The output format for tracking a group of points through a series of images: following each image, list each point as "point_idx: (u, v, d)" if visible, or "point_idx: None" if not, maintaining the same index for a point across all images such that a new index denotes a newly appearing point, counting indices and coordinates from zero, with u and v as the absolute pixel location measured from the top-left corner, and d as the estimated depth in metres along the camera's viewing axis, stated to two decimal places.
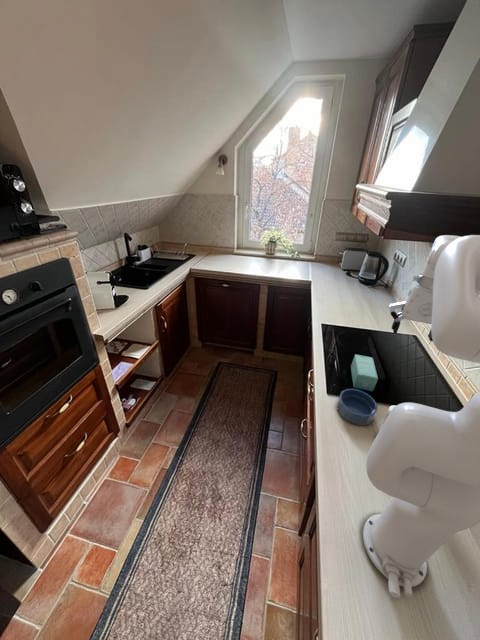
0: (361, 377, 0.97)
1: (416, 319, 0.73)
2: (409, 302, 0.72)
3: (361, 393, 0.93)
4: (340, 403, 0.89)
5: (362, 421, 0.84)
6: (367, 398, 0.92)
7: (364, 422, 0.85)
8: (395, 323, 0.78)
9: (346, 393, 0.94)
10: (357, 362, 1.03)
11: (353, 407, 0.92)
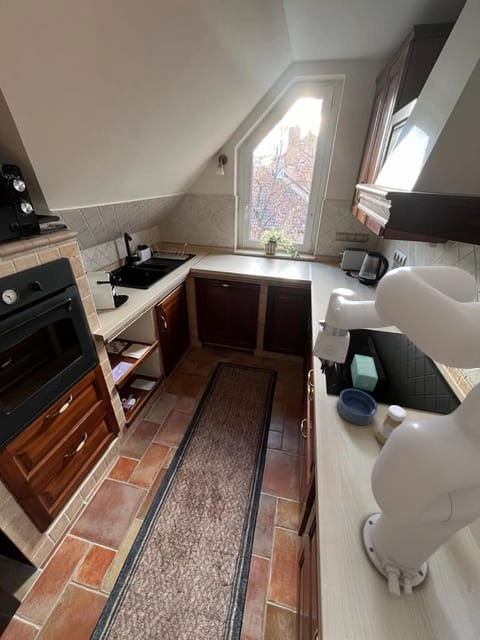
0: (361, 377, 0.97)
1: (323, 357, 0.83)
2: (316, 342, 0.82)
3: (361, 393, 0.93)
4: (340, 403, 0.89)
5: (362, 421, 0.84)
6: (367, 398, 0.92)
7: (364, 422, 0.85)
8: (322, 365, 0.87)
9: (346, 393, 0.94)
10: (357, 362, 1.03)
11: (353, 407, 0.92)
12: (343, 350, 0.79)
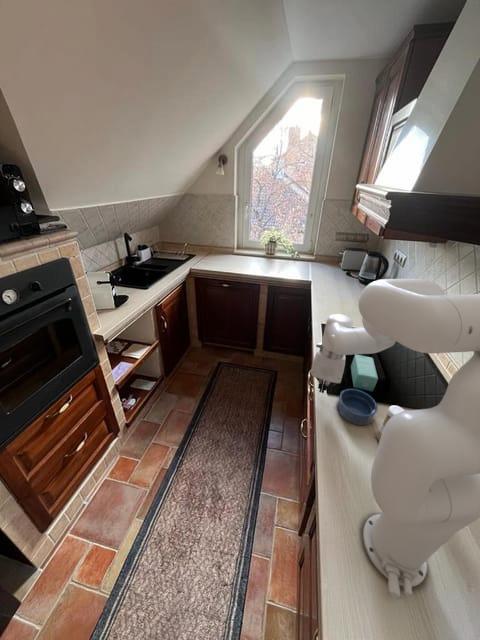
0: (361, 377, 0.97)
1: (320, 377, 0.87)
2: (314, 364, 0.86)
3: (361, 393, 0.93)
4: (340, 403, 0.89)
5: (362, 421, 0.84)
6: (367, 398, 0.92)
7: (364, 422, 0.85)
8: (319, 384, 0.91)
9: (346, 393, 0.94)
10: (357, 362, 1.03)
11: (353, 407, 0.92)
12: (339, 371, 0.83)
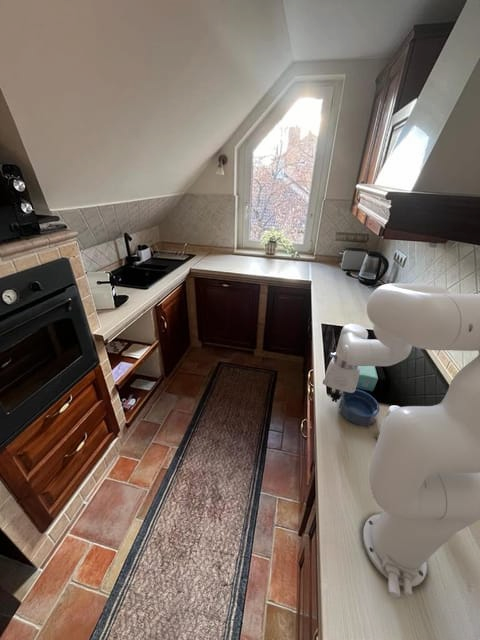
0: (361, 377, 0.97)
1: (334, 387, 0.86)
2: (328, 373, 0.85)
3: (363, 393, 0.93)
4: (342, 403, 0.89)
5: (364, 421, 0.84)
6: (368, 399, 0.92)
7: (366, 422, 0.85)
8: (332, 393, 0.90)
9: (348, 393, 0.93)
10: None
11: (355, 408, 0.91)
12: (353, 381, 0.83)
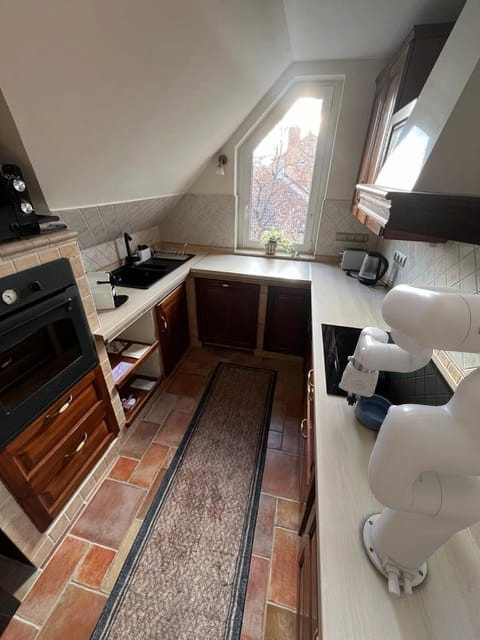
0: None
1: (351, 391, 0.85)
2: (345, 377, 0.83)
3: (379, 398, 0.91)
4: (358, 407, 0.87)
5: None
6: (385, 404, 0.90)
7: None
8: (349, 397, 0.89)
9: (364, 397, 0.92)
10: None
11: (371, 412, 0.90)
12: (372, 385, 0.81)
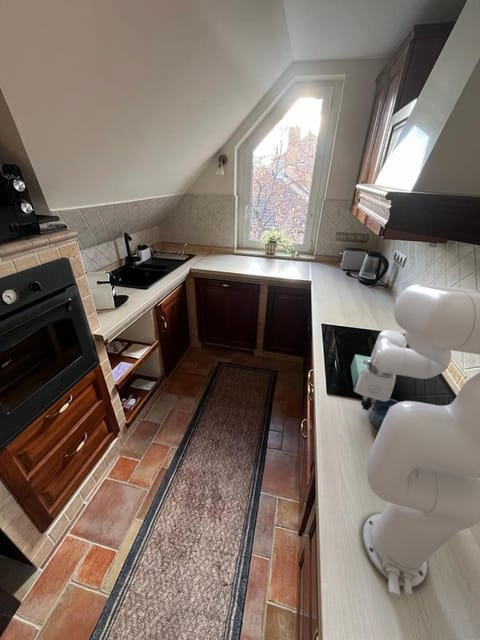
0: None
1: (367, 395, 0.83)
2: (361, 381, 0.82)
3: (395, 402, 0.89)
4: (373, 412, 0.86)
5: None
6: None
7: None
8: (364, 401, 0.87)
9: (379, 402, 0.90)
10: (357, 362, 1.03)
11: None
12: (389, 390, 0.79)
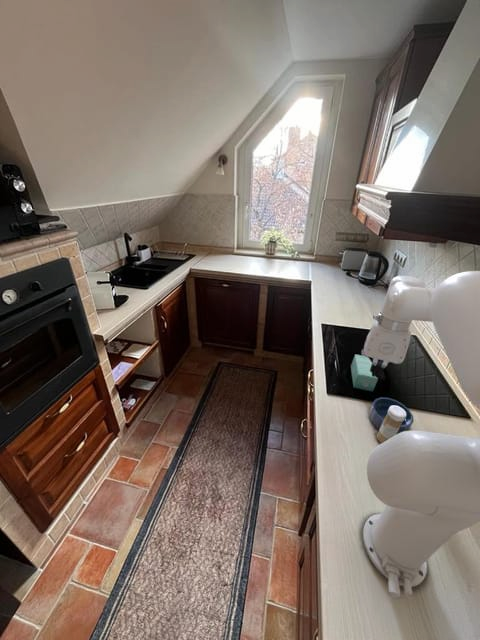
0: (361, 377, 0.97)
1: (377, 357, 0.72)
2: (370, 340, 0.71)
3: (395, 402, 0.89)
4: (373, 412, 0.86)
5: (397, 432, 0.81)
6: None
7: None
8: (373, 366, 0.76)
9: (379, 402, 0.90)
10: (357, 362, 1.03)
11: None
12: (403, 348, 0.68)
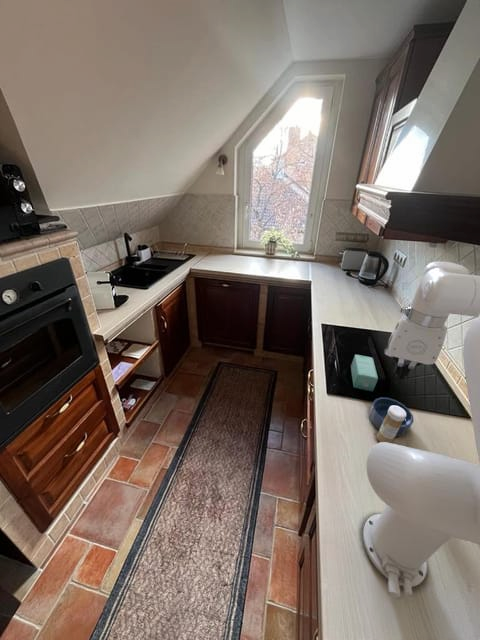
0: (361, 377, 0.97)
1: (405, 357, 0.62)
2: (397, 337, 0.61)
3: (395, 402, 0.89)
4: (373, 412, 0.86)
5: (397, 432, 0.81)
6: None
7: (399, 433, 0.81)
8: (398, 367, 0.66)
9: (379, 402, 0.90)
10: (357, 362, 1.03)
11: None
12: (437, 347, 0.58)
